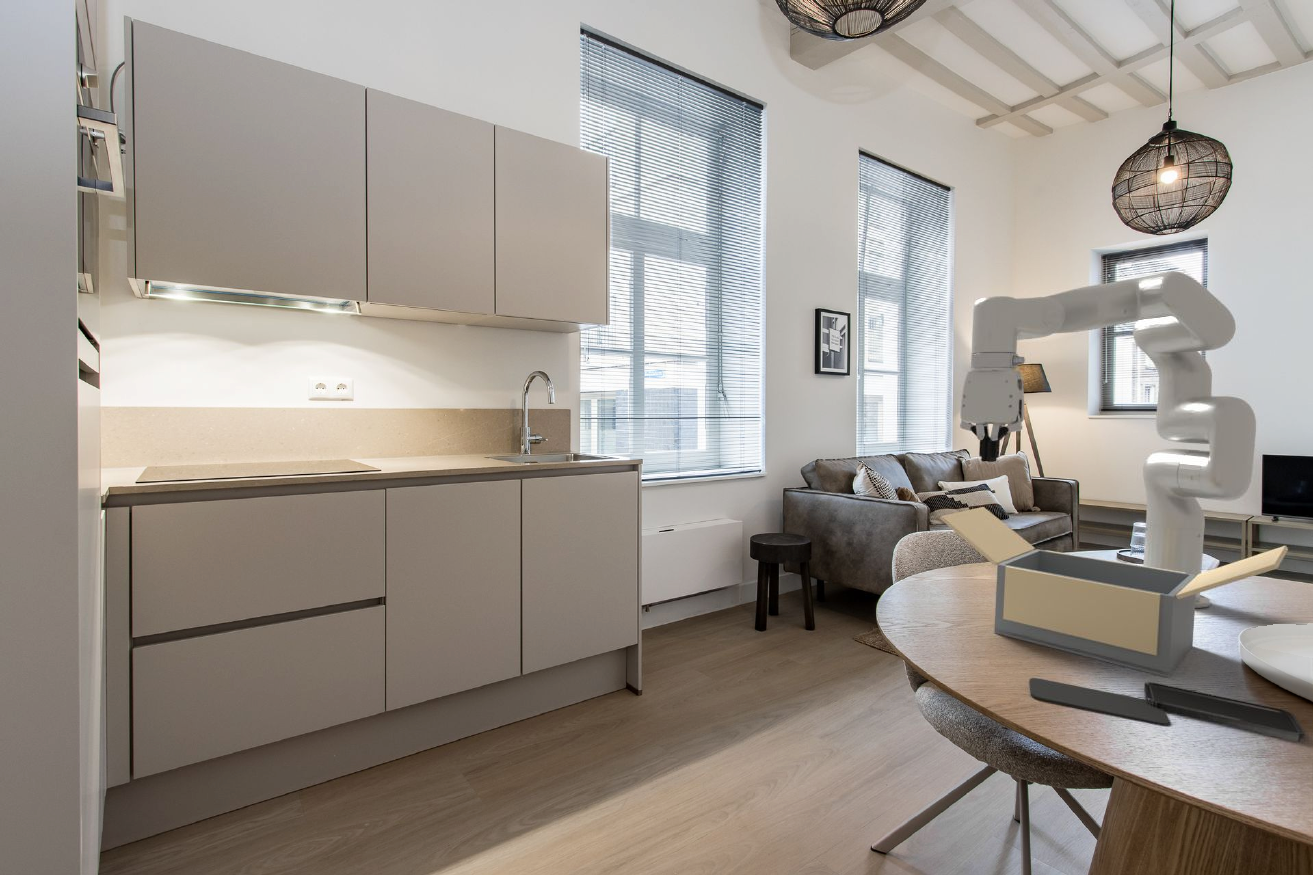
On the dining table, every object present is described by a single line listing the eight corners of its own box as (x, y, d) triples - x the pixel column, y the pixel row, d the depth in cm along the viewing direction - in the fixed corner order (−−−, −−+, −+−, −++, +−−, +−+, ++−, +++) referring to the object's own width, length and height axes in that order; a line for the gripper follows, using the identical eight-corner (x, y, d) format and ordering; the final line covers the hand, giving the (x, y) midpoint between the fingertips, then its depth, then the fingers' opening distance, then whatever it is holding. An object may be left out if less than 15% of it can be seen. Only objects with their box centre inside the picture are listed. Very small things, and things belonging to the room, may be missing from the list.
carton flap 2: (1285, 545, 99) (1288, 549, 99) (1198, 574, 106) (1200, 577, 106) (1274, 564, 86) (1277, 568, 85) (1175, 595, 93) (1178, 599, 93)
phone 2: (1144, 680, 90) (1291, 711, 82) (1143, 688, 90) (1291, 719, 82) (1146, 700, 84) (1306, 736, 75) (1145, 708, 84) (1306, 745, 75)
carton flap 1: (1035, 548, 124) (1033, 550, 125) (983, 506, 131) (981, 508, 132) (996, 562, 111) (994, 565, 112) (941, 515, 118) (939, 518, 118)
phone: (1172, 725, 79) (1030, 695, 86) (1171, 732, 79) (1030, 701, 86) (1159, 701, 85) (1028, 676, 92) (1159, 708, 85) (1028, 681, 92)
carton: (1034, 609, 125) (1037, 548, 125) (1193, 645, 108) (1197, 574, 107) (992, 633, 111) (996, 564, 111) (1167, 678, 93) (1172, 597, 93)
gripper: (1044, 363, 118) (1039, 463, 118) (960, 366, 129) (957, 457, 130) (1030, 361, 113) (1025, 465, 113) (944, 364, 124) (940, 459, 124)
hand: (988, 461), depth 121 cm, fingers closed
